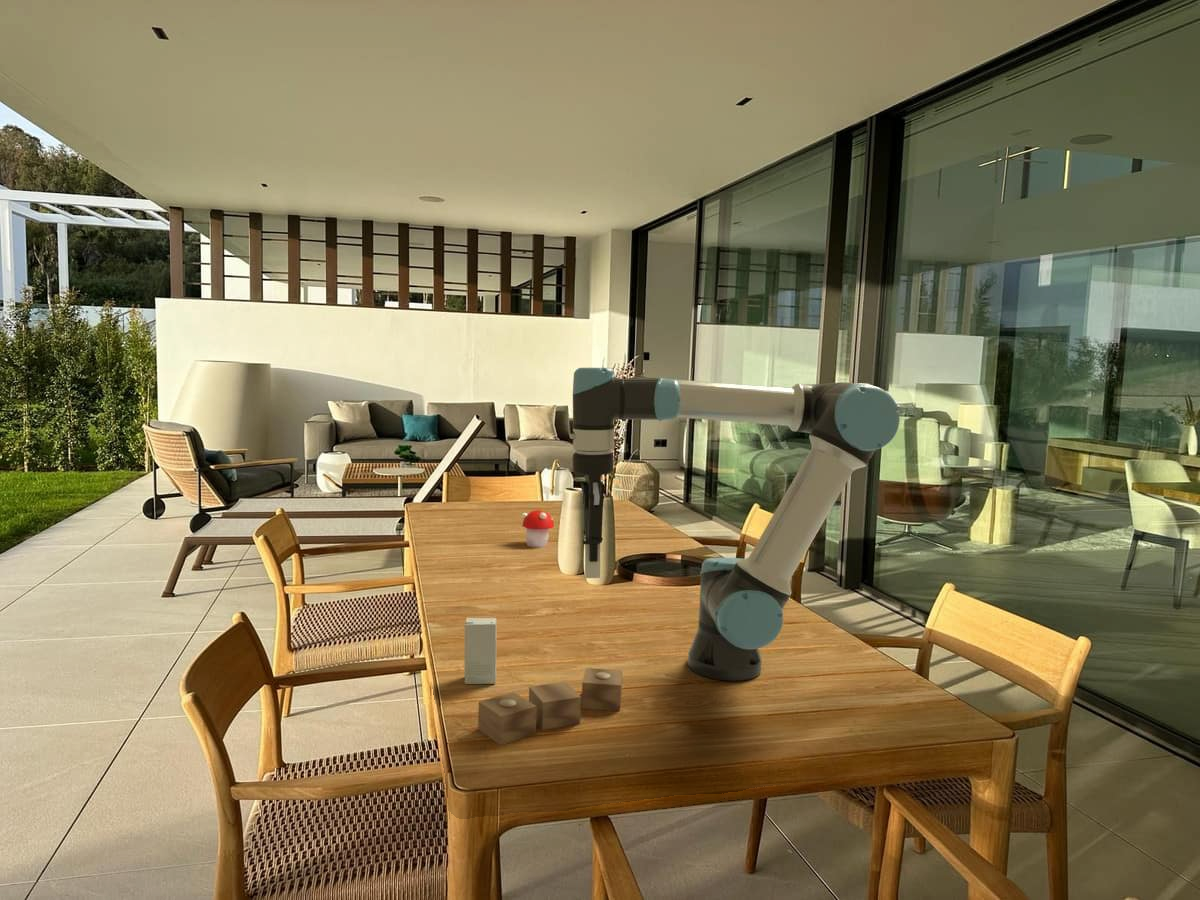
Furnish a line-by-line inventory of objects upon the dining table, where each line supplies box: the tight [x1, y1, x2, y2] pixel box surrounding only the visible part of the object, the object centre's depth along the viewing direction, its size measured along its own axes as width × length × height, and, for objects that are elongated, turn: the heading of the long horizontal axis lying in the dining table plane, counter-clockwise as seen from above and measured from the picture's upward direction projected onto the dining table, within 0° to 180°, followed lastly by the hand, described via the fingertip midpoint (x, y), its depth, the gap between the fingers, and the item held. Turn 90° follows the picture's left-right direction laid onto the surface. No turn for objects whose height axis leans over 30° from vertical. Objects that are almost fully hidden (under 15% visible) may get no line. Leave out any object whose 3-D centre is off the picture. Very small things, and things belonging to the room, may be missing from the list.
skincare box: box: [464, 617, 497, 685], centre depth 154 cm, size 6×4×12 cm
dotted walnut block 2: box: [581, 667, 623, 712], centre depth 148 cm, size 7×7×5 cm
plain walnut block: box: [528, 681, 582, 731], centre depth 140 cm, size 7×7×5 cm
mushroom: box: [521, 509, 555, 548], centre depth 268 cm, size 11×11×12 cm
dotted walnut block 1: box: [477, 691, 537, 746], centre depth 134 cm, size 7×7×5 cm
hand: (592, 576), depth 150 cm, fingers closed
